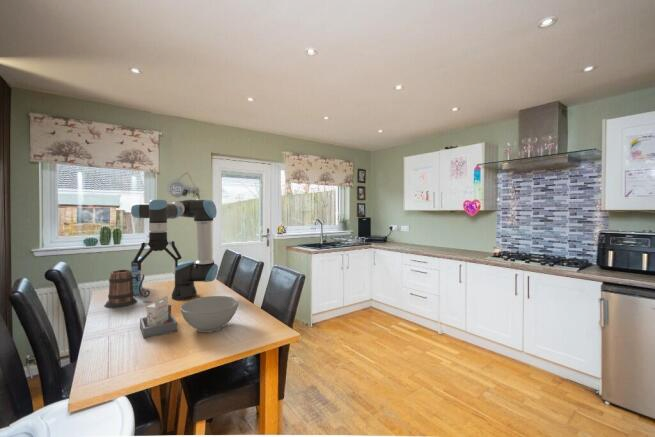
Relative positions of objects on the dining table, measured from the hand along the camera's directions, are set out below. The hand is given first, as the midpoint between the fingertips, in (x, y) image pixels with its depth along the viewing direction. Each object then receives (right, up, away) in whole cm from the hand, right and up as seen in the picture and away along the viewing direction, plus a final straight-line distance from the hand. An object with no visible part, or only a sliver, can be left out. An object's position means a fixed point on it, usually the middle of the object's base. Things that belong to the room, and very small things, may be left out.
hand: (158, 275), depth 142 cm
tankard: (-42, -25, +39) cm, 62 cm away
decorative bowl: (+24, -27, +4) cm, 36 cm away
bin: (0, -26, +1) cm, 26 cm away
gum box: (-52, -24, +64) cm, 86 cm away
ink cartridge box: (-1, -26, +1) cm, 26 cm away
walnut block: (-5, -26, +13) cm, 30 cm away
